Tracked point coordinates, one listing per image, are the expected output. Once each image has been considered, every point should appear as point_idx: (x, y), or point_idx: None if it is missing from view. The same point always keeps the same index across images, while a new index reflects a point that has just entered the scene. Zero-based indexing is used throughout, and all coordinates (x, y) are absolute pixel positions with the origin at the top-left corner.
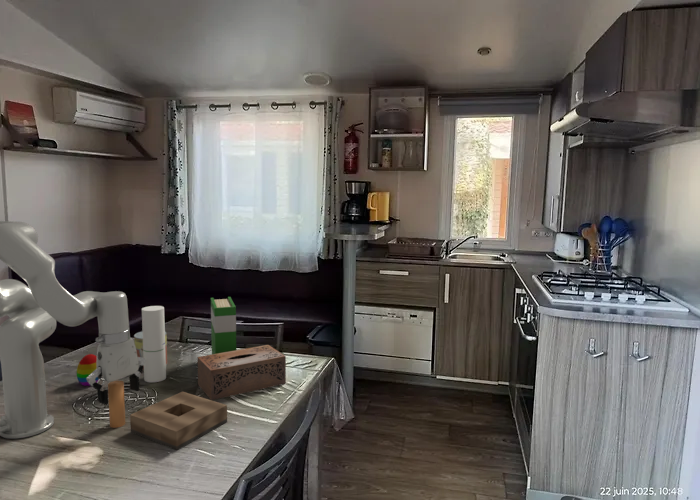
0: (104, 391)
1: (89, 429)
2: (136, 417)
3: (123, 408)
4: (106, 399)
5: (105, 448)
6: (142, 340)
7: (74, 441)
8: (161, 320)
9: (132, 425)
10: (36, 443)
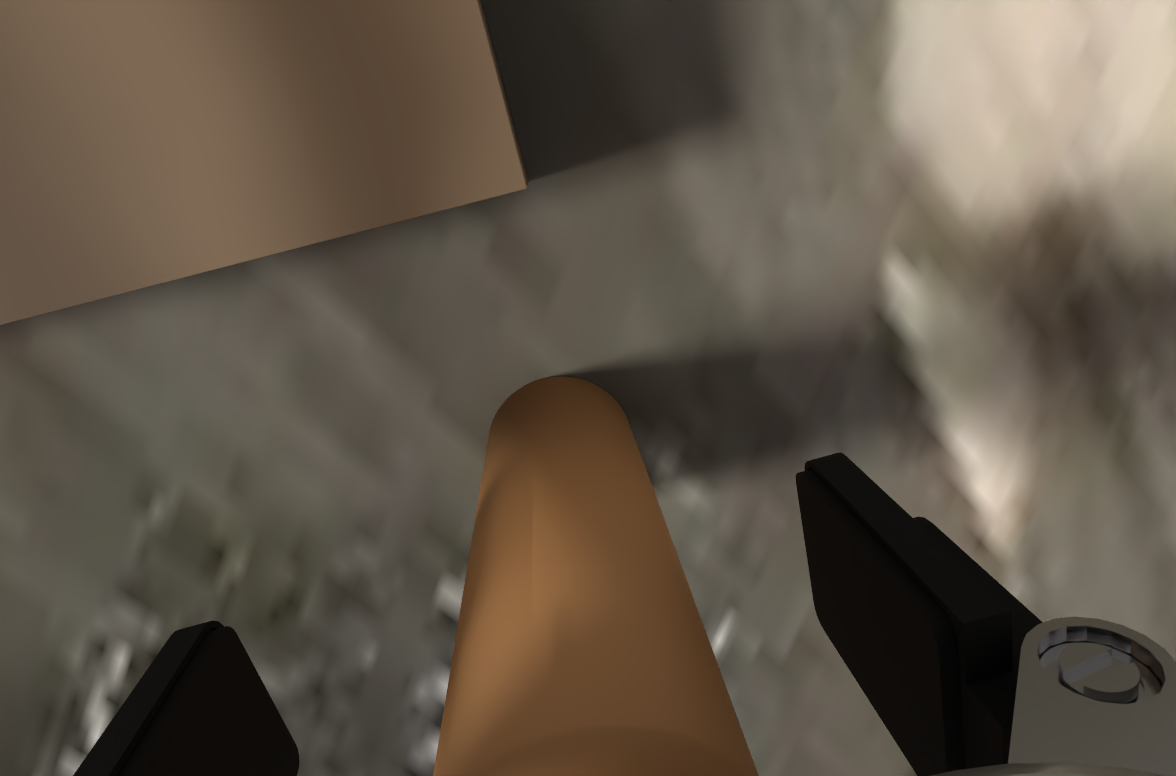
0: (992, 613)
1: (781, 513)
2: (484, 27)
3: (513, 464)
4: (867, 491)
5: (862, 11)
6: None
7: (967, 379)
8: None
9: (517, 144)
10: (1151, 546)
